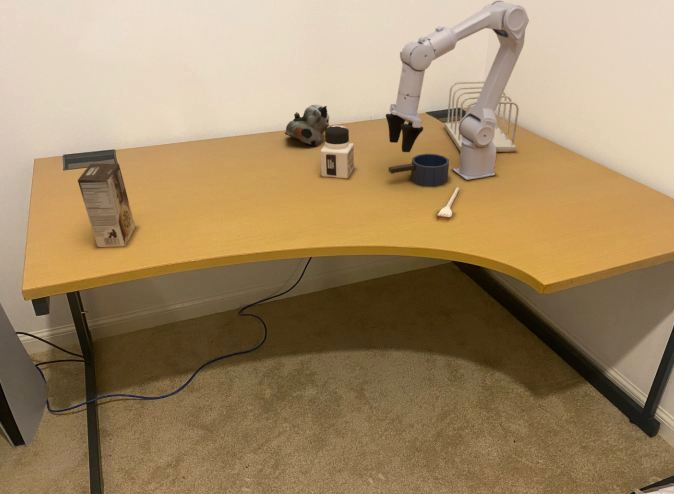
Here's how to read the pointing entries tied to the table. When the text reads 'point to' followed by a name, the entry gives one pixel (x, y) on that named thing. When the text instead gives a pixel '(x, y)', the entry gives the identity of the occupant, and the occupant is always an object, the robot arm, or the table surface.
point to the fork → (448, 206)
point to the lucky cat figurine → (309, 125)
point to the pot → (426, 169)
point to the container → (337, 153)
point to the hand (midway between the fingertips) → (399, 146)
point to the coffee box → (107, 204)
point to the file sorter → (499, 138)
